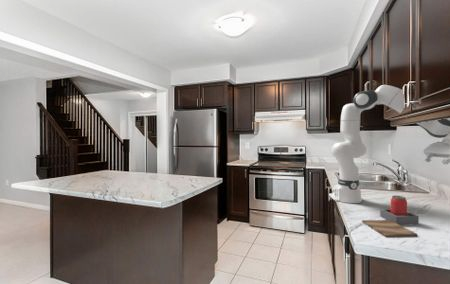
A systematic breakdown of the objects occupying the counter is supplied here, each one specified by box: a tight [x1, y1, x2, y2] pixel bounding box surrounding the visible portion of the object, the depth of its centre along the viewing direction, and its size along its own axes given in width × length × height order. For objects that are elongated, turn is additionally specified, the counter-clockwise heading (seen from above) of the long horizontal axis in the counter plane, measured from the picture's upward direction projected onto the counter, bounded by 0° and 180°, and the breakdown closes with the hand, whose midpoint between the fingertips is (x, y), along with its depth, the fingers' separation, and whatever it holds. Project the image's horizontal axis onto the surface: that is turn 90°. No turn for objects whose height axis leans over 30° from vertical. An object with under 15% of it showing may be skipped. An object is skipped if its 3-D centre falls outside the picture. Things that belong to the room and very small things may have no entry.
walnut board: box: [361, 219, 418, 238], centre depth 105 cm, size 16×14×1 cm
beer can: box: [390, 195, 408, 216], centre depth 115 cm, size 7×7×12 cm
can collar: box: [379, 208, 420, 226], centre depth 115 cm, size 11×11×4 cm
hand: (435, 162), depth 114 cm, fingers open, 8 cm apart
